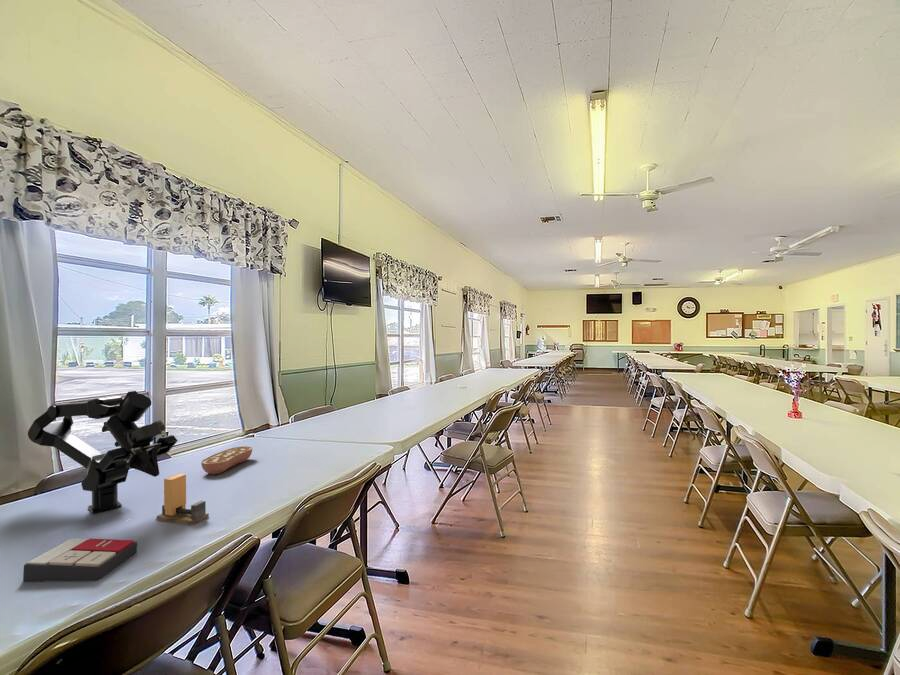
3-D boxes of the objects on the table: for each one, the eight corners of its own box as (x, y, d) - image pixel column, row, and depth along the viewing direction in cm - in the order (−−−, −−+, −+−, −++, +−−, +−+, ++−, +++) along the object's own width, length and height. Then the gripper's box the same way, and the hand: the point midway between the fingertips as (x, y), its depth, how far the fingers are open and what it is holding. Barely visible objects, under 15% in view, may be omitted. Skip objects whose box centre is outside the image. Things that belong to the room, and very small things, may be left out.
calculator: (98, 564, 84) (22, 561, 84) (97, 585, 84) (21, 583, 84) (138, 538, 95) (71, 535, 95) (137, 557, 95) (70, 554, 95)
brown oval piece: (219, 478, 145) (219, 463, 145) (193, 477, 146) (192, 463, 146) (257, 459, 168) (257, 446, 168) (233, 458, 169) (233, 446, 169)
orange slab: (164, 514, 112) (164, 478, 112) (179, 508, 116) (178, 473, 116) (171, 515, 111) (171, 479, 111) (186, 509, 115) (185, 474, 115)
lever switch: (156, 519, 112) (156, 502, 112) (173, 512, 117) (173, 495, 117) (192, 525, 109) (192, 507, 109) (208, 517, 114) (208, 500, 114)
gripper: (106, 419, 108) (139, 466, 105) (172, 407, 126) (202, 447, 123) (84, 448, 110) (116, 495, 107) (152, 432, 128) (181, 472, 125)
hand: (157, 475), depth 115 cm, fingers closed
